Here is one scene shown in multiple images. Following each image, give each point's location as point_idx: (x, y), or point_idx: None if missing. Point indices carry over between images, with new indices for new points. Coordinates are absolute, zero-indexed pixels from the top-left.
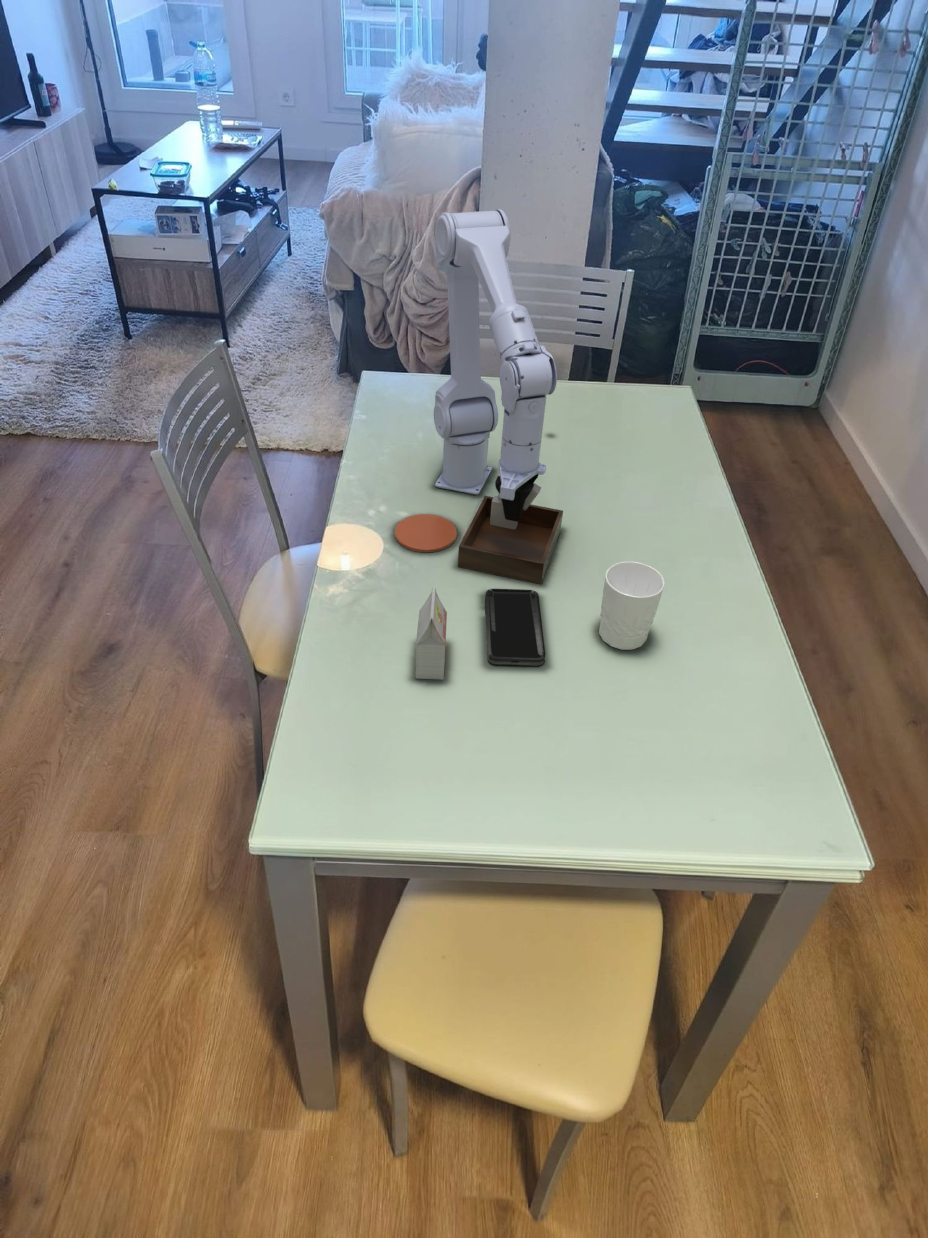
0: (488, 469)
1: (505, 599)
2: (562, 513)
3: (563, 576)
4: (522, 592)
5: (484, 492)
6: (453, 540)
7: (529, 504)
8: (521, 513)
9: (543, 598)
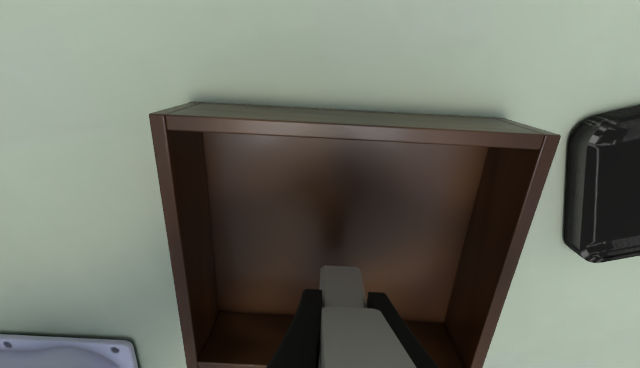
0: (2, 343)
1: (627, 209)
2: (168, 113)
3: (451, 51)
4: (594, 169)
5: (108, 328)
6: None
7: (389, 329)
8: (377, 309)
9: (575, 99)
